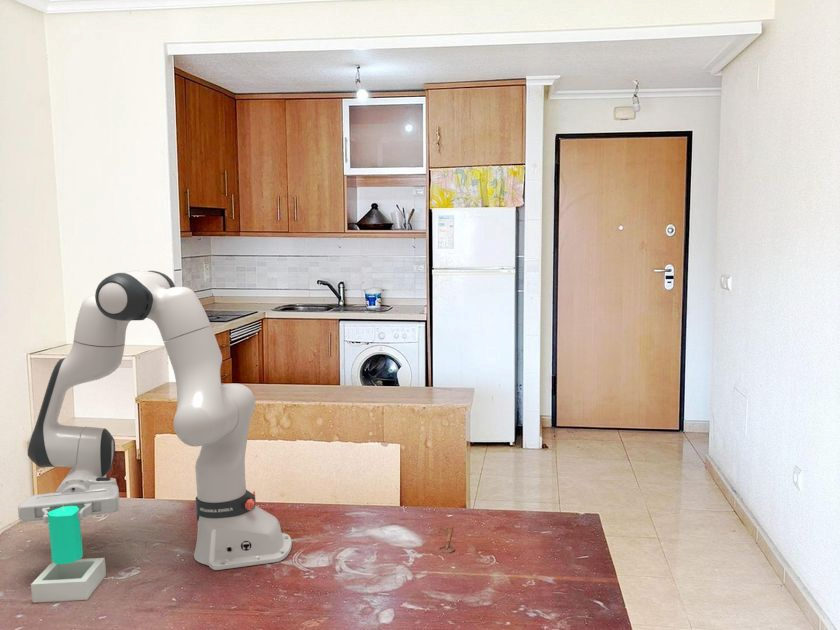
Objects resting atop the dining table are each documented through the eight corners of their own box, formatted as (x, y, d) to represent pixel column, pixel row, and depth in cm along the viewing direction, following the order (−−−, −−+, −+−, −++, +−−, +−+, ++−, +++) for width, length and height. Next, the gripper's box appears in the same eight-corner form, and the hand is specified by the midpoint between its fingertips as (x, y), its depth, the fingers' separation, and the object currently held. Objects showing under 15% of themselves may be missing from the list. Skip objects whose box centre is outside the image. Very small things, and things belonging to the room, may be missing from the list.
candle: (52, 566, 154) (47, 511, 152) (51, 555, 159) (46, 502, 157) (84, 560, 157) (79, 505, 155) (81, 549, 162) (77, 496, 160)
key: (436, 529, 186) (429, 555, 171) (436, 525, 186) (429, 551, 171) (459, 527, 185) (454, 553, 170) (459, 524, 185) (454, 550, 170)
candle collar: (106, 574, 164) (104, 557, 164) (87, 599, 153) (85, 581, 153) (55, 577, 164) (53, 560, 163) (32, 602, 153) (30, 584, 152)
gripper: (26, 486, 166) (7, 509, 153) (123, 477, 171) (112, 498, 158) (28, 513, 167) (10, 538, 154) (124, 503, 172) (115, 527, 158)
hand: (63, 518), depth 156 cm, fingers closed on candle, 5 cm apart
